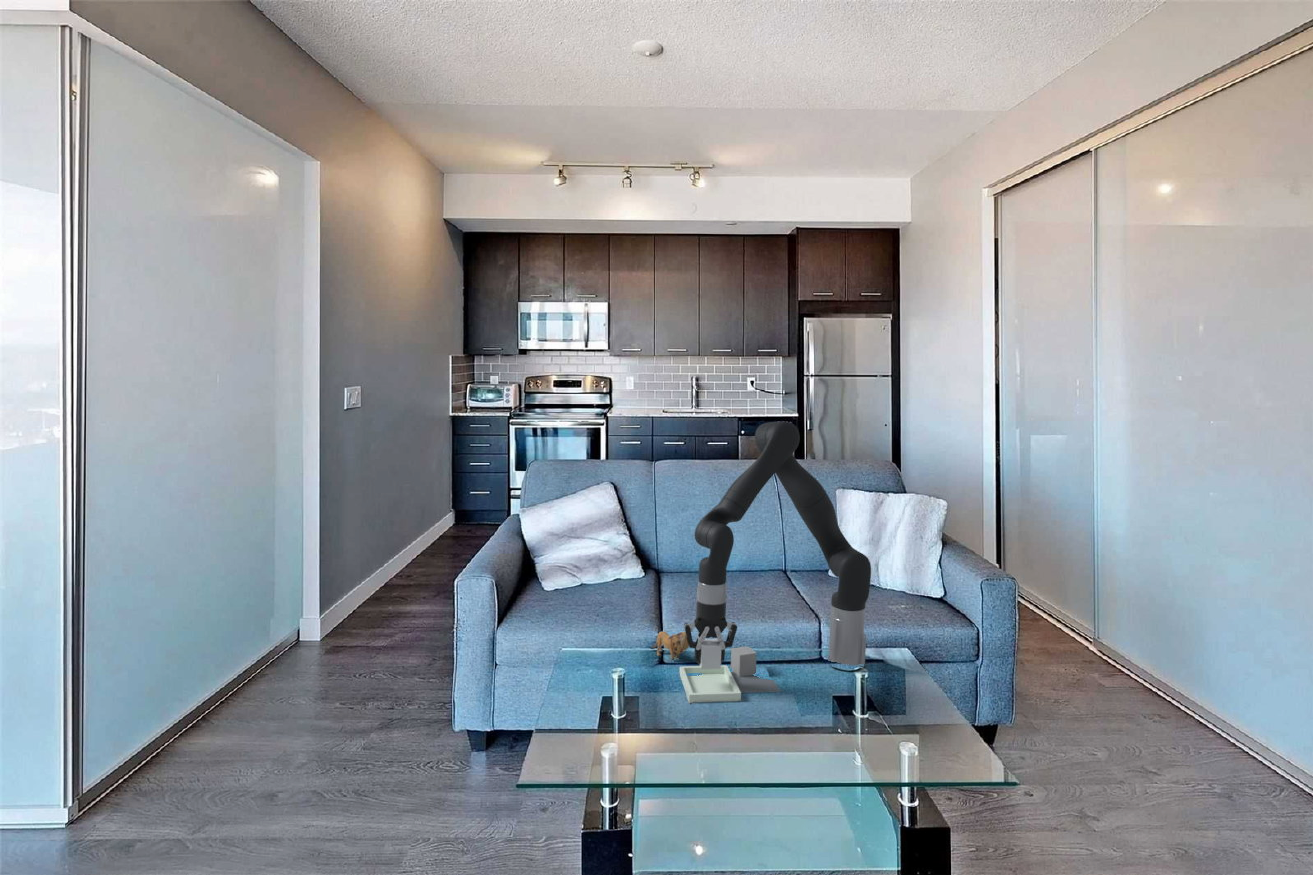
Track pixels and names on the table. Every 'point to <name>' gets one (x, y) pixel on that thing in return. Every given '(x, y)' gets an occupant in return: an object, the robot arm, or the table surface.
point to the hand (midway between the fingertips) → (709, 662)
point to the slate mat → (754, 684)
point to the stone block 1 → (710, 654)
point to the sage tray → (709, 685)
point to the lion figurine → (672, 643)
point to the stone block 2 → (743, 661)
